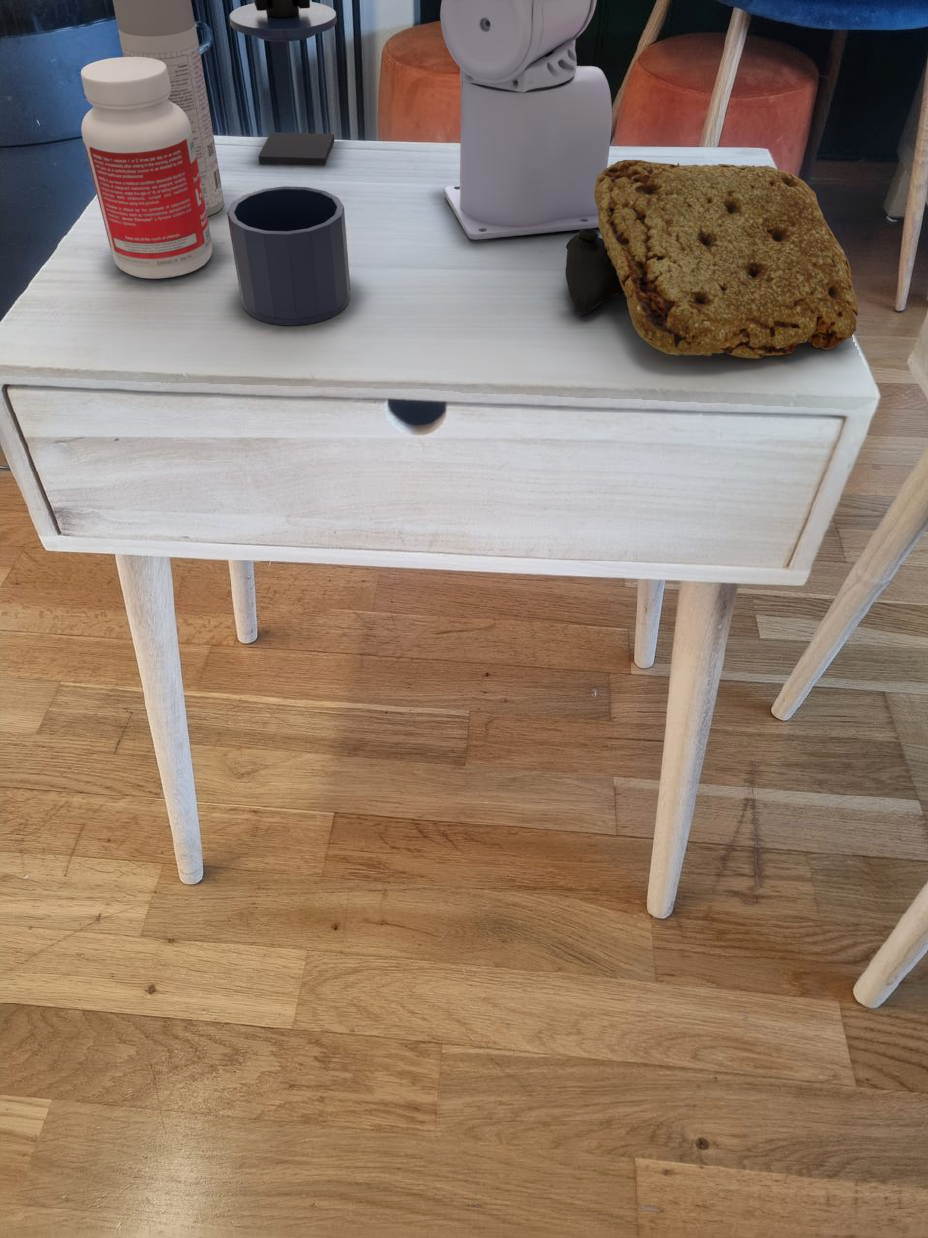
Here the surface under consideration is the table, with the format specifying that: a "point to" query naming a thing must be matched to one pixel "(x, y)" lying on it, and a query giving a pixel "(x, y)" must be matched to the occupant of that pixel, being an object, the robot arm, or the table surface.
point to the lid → (283, 20)
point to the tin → (290, 254)
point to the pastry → (724, 259)
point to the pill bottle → (144, 169)
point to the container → (176, 73)
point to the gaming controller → (590, 272)
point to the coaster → (297, 148)
